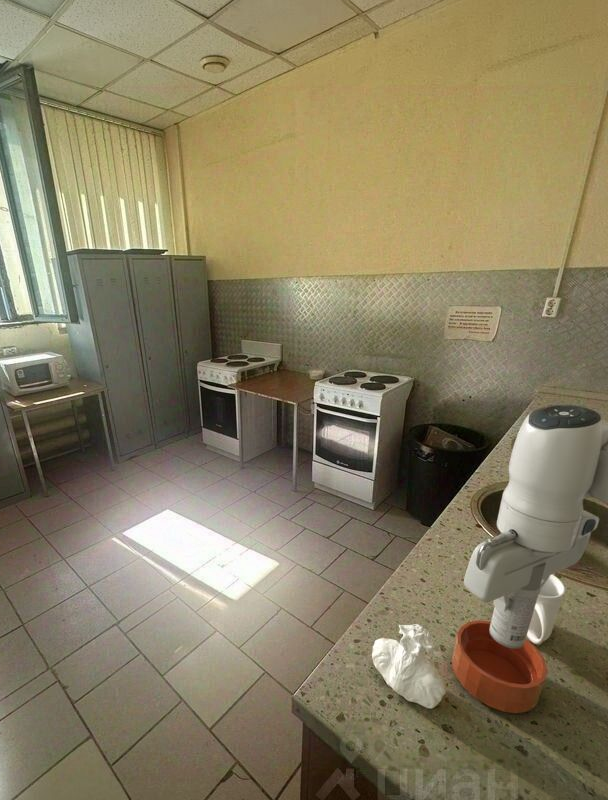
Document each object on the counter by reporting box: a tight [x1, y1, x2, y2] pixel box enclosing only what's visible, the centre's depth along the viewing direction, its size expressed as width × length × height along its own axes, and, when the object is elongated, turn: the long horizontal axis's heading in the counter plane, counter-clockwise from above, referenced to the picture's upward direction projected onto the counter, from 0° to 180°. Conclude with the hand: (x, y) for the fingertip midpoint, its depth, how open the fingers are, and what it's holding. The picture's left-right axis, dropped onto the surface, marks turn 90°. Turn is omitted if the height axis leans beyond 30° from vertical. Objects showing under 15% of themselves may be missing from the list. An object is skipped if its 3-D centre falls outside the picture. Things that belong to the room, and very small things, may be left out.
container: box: [489, 562, 546, 649], centre depth 59 cm, size 5×5×15 cm
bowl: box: [451, 619, 548, 714], centre depth 64 cm, size 12×12×6 cm
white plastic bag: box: [371, 623, 447, 710], centre depth 63 cm, size 12×8×11 cm
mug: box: [526, 574, 566, 646], centre depth 71 cm, size 9×12×11 cm
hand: (515, 600), depth 59 cm, fingers closed on container, 4 cm apart
